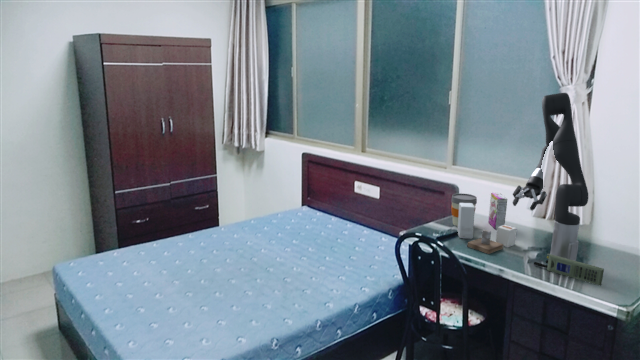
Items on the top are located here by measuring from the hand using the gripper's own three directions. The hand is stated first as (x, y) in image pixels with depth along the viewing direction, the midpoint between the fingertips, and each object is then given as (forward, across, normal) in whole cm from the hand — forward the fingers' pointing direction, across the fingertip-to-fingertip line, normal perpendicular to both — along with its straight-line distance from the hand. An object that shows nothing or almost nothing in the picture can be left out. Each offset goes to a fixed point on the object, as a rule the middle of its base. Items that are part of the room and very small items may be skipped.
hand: (522, 207), depth 224 cm
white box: (+19, 0, +3) cm, 20 cm away
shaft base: (+27, -3, -6) cm, 28 cm away
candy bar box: (+6, -17, +16) cm, 24 cm away
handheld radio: (+27, +33, -5) cm, 43 cm away
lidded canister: (+15, -29, +8) cm, 33 cm away
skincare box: (+24, -18, -1) cm, 30 cm away
